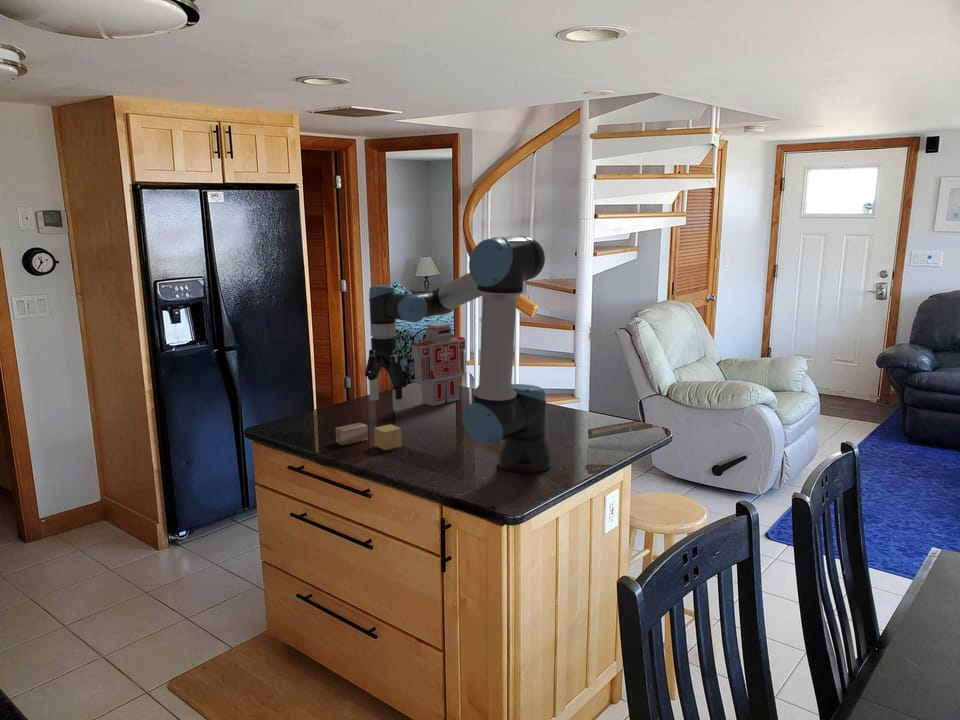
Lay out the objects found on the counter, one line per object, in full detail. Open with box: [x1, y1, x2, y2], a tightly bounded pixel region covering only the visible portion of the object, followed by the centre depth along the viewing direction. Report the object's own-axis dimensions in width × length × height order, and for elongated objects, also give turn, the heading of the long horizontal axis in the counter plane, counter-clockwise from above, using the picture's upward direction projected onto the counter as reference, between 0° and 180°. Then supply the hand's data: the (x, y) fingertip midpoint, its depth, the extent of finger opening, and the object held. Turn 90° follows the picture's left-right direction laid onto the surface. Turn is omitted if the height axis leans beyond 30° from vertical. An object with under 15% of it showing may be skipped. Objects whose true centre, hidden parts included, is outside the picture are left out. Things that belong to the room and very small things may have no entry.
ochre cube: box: [373, 423, 403, 451], centre depth 224 cm, size 6×6×6 cm
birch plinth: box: [335, 422, 369, 446], centre depth 229 cm, size 4×9×5 cm, turn 129°
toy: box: [411, 322, 467, 407], centre depth 272 cm, size 22×8×30 cm, turn 132°
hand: (385, 404), depth 222 cm, fingers open, 13 cm apart
